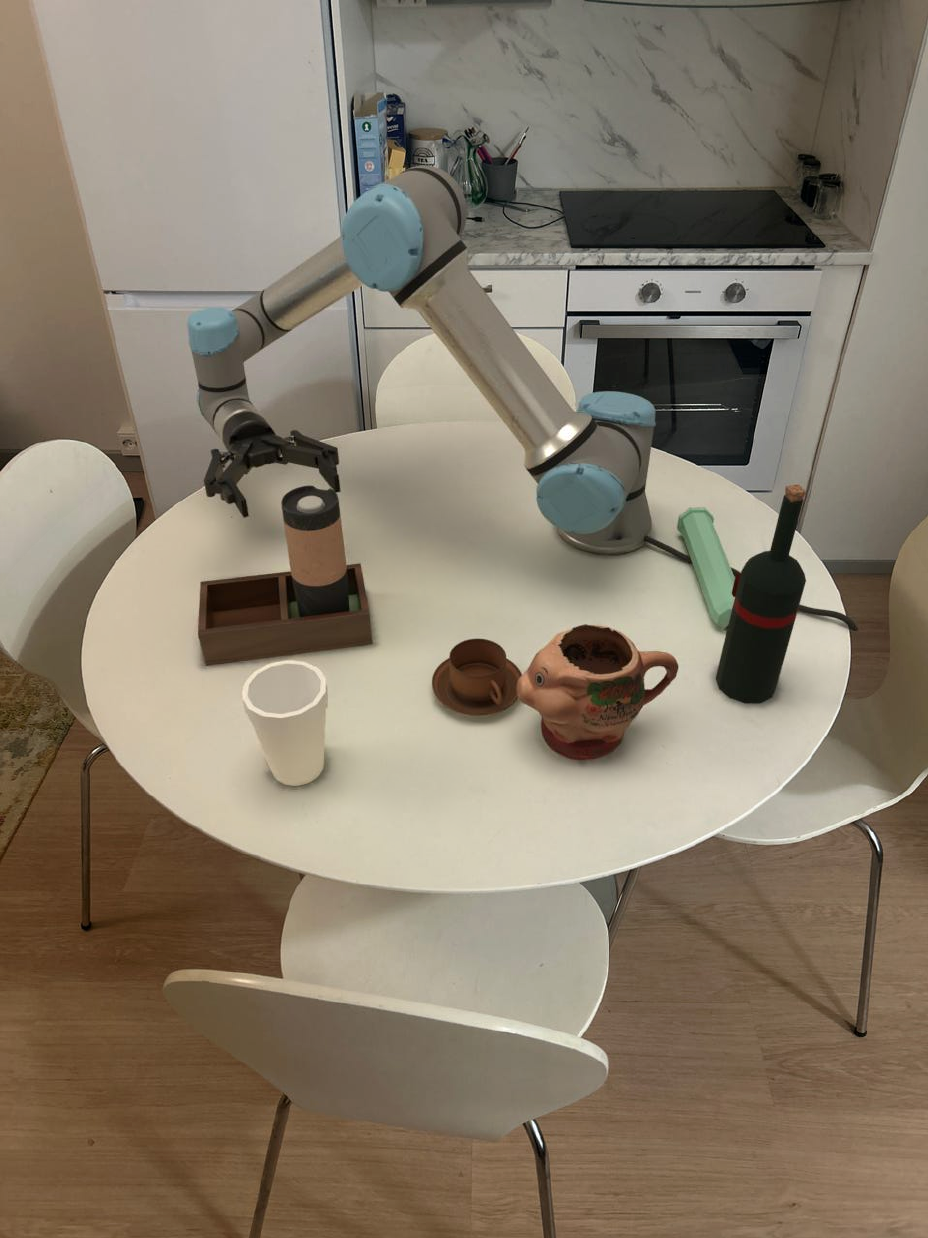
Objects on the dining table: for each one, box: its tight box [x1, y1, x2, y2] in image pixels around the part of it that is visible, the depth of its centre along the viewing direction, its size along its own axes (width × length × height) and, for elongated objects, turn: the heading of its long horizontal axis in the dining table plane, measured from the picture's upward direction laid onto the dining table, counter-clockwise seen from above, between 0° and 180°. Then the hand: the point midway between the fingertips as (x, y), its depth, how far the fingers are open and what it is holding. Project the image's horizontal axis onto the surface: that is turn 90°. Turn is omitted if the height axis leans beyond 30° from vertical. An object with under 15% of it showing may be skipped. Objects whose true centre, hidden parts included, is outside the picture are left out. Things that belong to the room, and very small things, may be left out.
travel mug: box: [281, 484, 350, 617], centre depth 126 cm, size 8×8×20 cm
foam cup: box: [241, 659, 329, 787], centre depth 107 cm, size 10×9×13 cm
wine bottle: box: [715, 483, 807, 704], centre depth 114 cm, size 8×10×30 cm
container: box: [676, 506, 735, 630], centre depth 138 cm, size 6×6×25 cm
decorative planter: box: [517, 623, 679, 761], centre depth 111 cm, size 20×12×14 cm, turn 107°
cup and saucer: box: [431, 638, 523, 717], centre depth 119 cm, size 12×12×6 cm
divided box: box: [197, 563, 373, 666], centre depth 130 cm, size 12×23×6 cm, turn 101°
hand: (292, 496), depth 128 cm, fingers open, 13 cm apart
